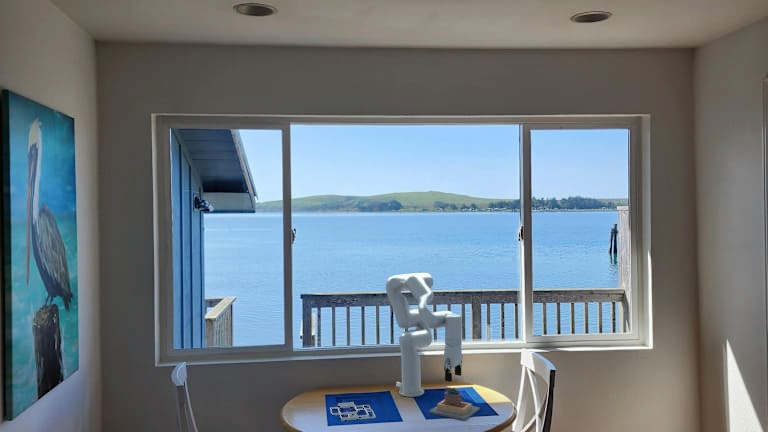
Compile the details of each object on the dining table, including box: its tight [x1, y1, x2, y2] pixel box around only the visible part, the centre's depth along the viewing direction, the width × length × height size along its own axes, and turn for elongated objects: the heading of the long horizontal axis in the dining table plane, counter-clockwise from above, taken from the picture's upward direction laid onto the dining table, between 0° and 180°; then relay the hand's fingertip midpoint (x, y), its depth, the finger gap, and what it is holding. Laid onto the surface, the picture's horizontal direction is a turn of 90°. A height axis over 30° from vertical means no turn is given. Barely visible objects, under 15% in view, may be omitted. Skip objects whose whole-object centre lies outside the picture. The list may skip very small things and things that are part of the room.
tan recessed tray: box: [428, 398, 481, 422], centre depth 269 cm, size 18×16×4 cm
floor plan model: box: [329, 401, 377, 422], centre depth 270 cm, size 19×25×2 cm
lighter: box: [443, 386, 462, 408], centre depth 269 cm, size 8×3×10 cm, turn 63°
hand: (453, 378), depth 269 cm, fingers open, 9 cm apart
